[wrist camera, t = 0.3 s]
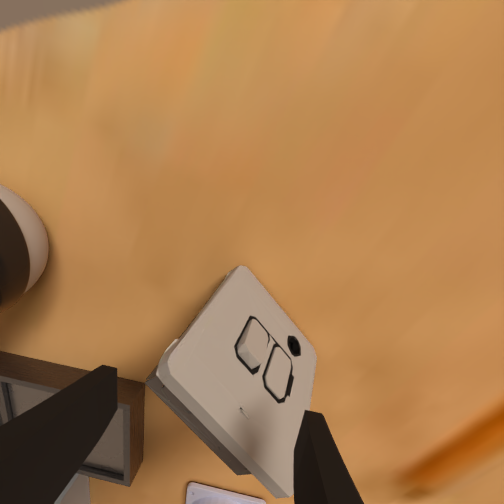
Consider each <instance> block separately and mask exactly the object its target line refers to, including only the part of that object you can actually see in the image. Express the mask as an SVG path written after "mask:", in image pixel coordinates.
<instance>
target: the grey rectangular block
mask: <svg viewBox="0 0 504 504" xmlns="http://www.w3.org/2000/svg"><path fill="white" fill-rule="evenodd" d="M54 504H91V503H90V490H89V476H85V475H81V474H77V473H76V474H75V475H74V476H73V478H72V479H71V481H70V482H69V483H68V485H67V486H66V487H65V489H64V490H63V492H62V493H61V494H60V496H59V497H58V499H57V500H56V501H55V503H54Z"/></svg>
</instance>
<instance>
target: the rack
mask: <svg viewBox="0 0 504 504" xmlns="http://www.w3.org/2000/svg"><path fill="white" fill-rule="evenodd" d="M90 372H91V371H87V370H82V369H78V368H73V367H69V366H64V365H60V364H55V363H51V362H46V361H42V360H37V359H33V358H28V357H23V356H19V355H14V354H10V353H5V352H1V351H0V426H1V425H3V424H5V423H6V422H8V421H10V420H12V419H13V418H15V417H17V416H19V415H21V414H22V413H24V412H26V411H28V410H29V409H31V408H33V407H34V406H36V405H38V404H39V403H41V402H43V401H44V400H46V399H48V398H49V397H51V396H53V395H54V394H56V393H57V392H59V391H61V390H62V389H64V388H66V387H67V386H69V385H70V384H72V383H74V382H75V381H77V380H78V379H80V378H82V377H83V376H85V375H86V374H88V373H90ZM144 395H145V383H141V382H137V381H132V380H128V379H123V378H118V377H117V399H118V409H117V411H116V413H115V415H114V416H113V418H112V420H111V422H110V423H109V425H108V427H107V428H106V430H105V432H104V433H103V435H102V437H101V438H100V440H99V441H98V443H97V444H96V446H95V447H94V449H93V450H92V451H91V453H90V454H89V456H88V457H87V458H86V460H85V461H84V463H83V464H82V465H81V467H80V468H79V470H78V471H77V472H76V473H77V474H81V475H85V476H89V477H93V478H97V479H101V480H105V481H109V482H113V483H117V484H121V485H125V486H128V487H130V486H131V484H132V482H133V480H134V478H135V476H136V474H137V472H138V470H139V467H140V465H141V463H142V461H143V440H144Z"/></svg>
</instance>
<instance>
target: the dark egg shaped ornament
mask: <svg viewBox="0 0 504 504" xmlns="http://www.w3.org/2000/svg"><path fill="white" fill-rule="evenodd" d="M48 254H49V242H48V237H47V233H46V230H45V227H44V225H43V223H42V221H41V219H40V218H39V216H38V215H37V213H36V212H35V211H34V209H33V208H32V207H31V206H30V205H29V204H28V203H27V202H26V201H25V200H24V199H23V198H21V197H20V196H19V195H17V194H16V193H15V192H13V191H12V190H10V189H8V188H7V187H5V186H3V185H1V184H0V313H1V312H3V311H5V310H7V309H9V308H10V307H12V306H13V305H15V304H16V303H17V302H18V301H19V299H20V298H21V297H22V295H23V294H24V293H25V292H26V291H28V290H29V289H30V288H31V287H32V286H33V285H34V284H35V283H36V281H37V280H38V279H39V277H40V276H41V274H42V273H43V271H44V269H45V266H46V264H47V260H48Z"/></svg>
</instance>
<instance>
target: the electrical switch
mask: <svg viewBox="0 0 504 504" xmlns="http://www.w3.org/2000/svg"><path fill="white" fill-rule="evenodd" d="M316 361H317V357H316V353H315V350H314V348H313V346H312V345H311V344H310V342H309V341H308V340H307V339H306V338H305V336H304V335H303V334H302V333H301V332H300V330H299V329H298V328H297V327H296V326H295V324H294V323H293V322H292V321H291V320H290V318H289V317H288V316H287V315H286V313H285V312H284V311H283V310H282V309H281V307H280V306H279V305H278V304H277V303H276V301H275V300H274V299H273V298H272V297H271V295H270V294H269V293H268V292H267V291H266V289H265V288H264V287H263V286H262V285H261V283H260V282H259V281H258V280H257V278H256V277H255V276H254V275H253V274H252V272H251V271H250V270H249V269H248V268H247V267H246V266H241V265H240V266H238V267H236V268H234V269H233V270H231V271H230V272H229V273H228V274H227V276H226V277H225V279H224V280H223V282H222V283H221V284H220V286H219V287H218V288H217V290H216V291H215V292H214V294H213V295H212V296H211V298H210V299H209V300H208V302H207V303H206V304H205V306H204V307H203V308H202V310H201V311H200V312H199V314H198V315H197V316H196V317H195V319H194V320H193V321H192V322H191V324H190V325H189V326H188V327H187V329H186V330H185V331H184V332H183V334H182V335H181V336H180V337H179V339H175V340H174V341H173V342H172V344H171V345H170V346H169V347H168V348H167V349H166V351H165V352H164V354H163V355H162V357H161V359H160V361H159V364H158V365H157V366H156V368H155V369H154V370H153V371H152V373H151V374H150V375H149V376H148V378H147V379H149V380H147V379H146V380H147V381H146V382H145V384H146V385H147V386H148V387H149V388H150V389H151V390H152V391H153V392H154V393H155V394H156V395H157V396H158V397H159V398H160V399H161V400H162V401H163V402H164V403H165V404H166V405H167V406H168V407H169V408H170V409H171V410H172V411H173V412H174V413H175V414H176V415H177V416H178V417H179V418H180V419H181V420H182V421H183V422H184V423H185V424H186V425H187V426H188V427H189V428H190V429H191V430H192V431H193V432H194V433H195V434H196V435H197V436H198V437H199V438H200V439H201V440H202V441H203V442H204V443H205V444H206V445H207V446H208V447H209V448H210V449H211V450H212V451H213V452H214V453H215V454H216V455H217V456H218V457H219V458H220V459H221V460H222V461H223V462H224V463H225V464H226V465H227V466H228V467H229V468H230V469H231V470H232V471H233V472H234V473H235V474H236V475H245V474H253V475H254V476H255V477H256V478H257V479H258V480H259V481H260V482H261V483H262V484H263V485H264V486H265V487H266V488H267V489H268V490H269V491H270V492H271V494H272V495H273V496H274V497H275V498H276V499H277V498H285V497H291V496H292V495H293V494H294V489H293V461H294V447H295V444H296V440H297V437H298V433H299V429H300V426H301V422H302V419H303V415H304V411H305V410H308V411H309V410H310V403H311V396H312V389H313V382H314V375H315V368H316ZM153 377H154V378H153ZM150 378H152V379H150ZM163 384H164V385H163ZM162 386H163V387H162Z"/></svg>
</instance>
